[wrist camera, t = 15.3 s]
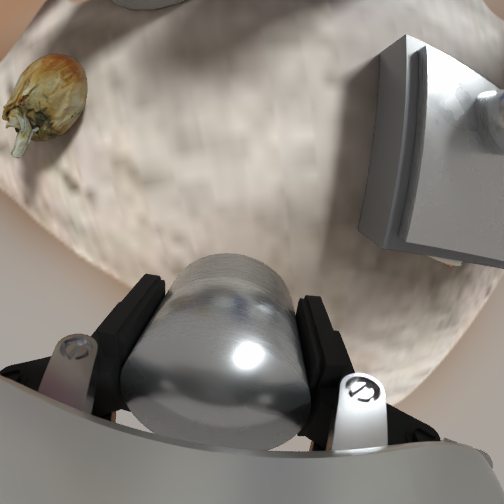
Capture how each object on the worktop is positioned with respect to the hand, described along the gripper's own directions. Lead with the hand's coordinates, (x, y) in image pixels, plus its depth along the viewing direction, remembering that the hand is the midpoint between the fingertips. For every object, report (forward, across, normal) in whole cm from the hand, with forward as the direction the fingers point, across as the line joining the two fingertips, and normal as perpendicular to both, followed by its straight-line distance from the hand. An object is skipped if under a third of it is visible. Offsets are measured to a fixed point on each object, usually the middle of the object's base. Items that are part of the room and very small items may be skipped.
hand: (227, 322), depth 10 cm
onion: (+13, +18, -10) cm, 24 cm away
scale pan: (+8, -17, -9) cm, 22 cm away
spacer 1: (+1, 0, 0) cm, 1 cm away
